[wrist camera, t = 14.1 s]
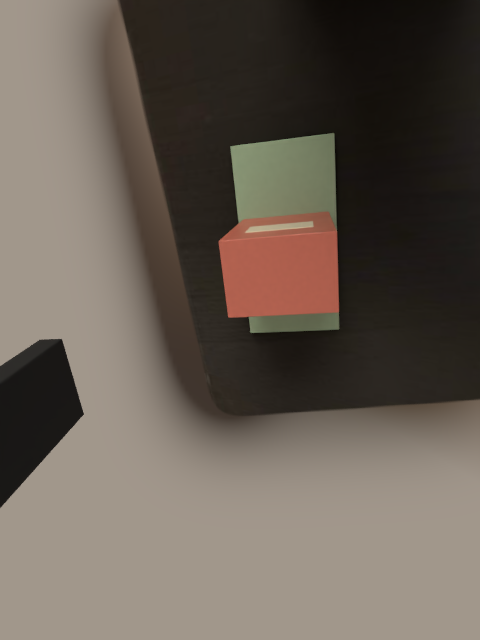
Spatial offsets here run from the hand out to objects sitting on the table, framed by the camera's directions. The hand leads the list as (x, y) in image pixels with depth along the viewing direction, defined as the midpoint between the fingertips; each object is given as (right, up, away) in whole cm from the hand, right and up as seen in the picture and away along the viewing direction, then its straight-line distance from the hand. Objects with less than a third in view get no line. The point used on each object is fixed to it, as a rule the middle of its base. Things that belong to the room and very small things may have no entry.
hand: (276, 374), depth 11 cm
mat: (+3, +8, +23) cm, 24 cm away
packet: (+3, +8, +22) cm, 24 cm away
